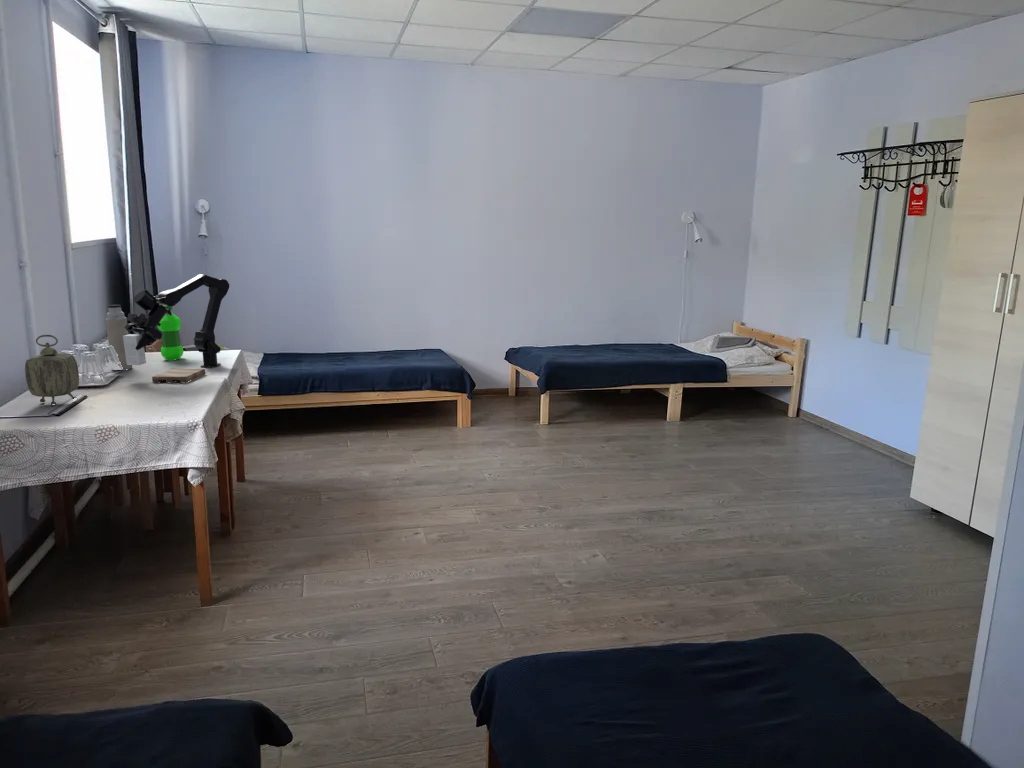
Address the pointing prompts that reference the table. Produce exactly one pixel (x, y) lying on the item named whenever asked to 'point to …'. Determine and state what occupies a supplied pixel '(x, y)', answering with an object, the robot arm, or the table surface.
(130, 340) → the skincare box
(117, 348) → the thermos bottle
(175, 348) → the plastic bottle
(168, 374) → the pallet dock
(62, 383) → the tabletop clock
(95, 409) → the table surface
